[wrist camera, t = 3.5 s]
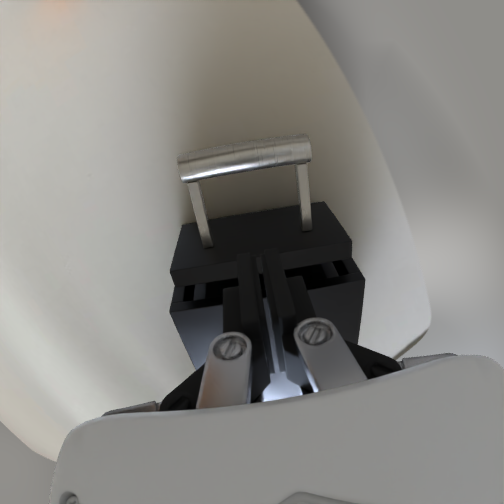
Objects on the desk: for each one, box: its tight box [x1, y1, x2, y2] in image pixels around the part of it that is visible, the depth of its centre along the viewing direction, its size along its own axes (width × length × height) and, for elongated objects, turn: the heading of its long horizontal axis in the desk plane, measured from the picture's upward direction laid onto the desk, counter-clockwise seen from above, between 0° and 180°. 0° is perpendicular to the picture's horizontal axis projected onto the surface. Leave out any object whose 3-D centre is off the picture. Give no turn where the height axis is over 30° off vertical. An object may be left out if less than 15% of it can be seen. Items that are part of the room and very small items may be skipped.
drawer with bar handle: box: [170, 134, 352, 300], centre depth 21 cm, size 18×10×6 cm, turn 8°
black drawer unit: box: [170, 258, 365, 402], centre depth 24 cm, size 14×12×8 cm
